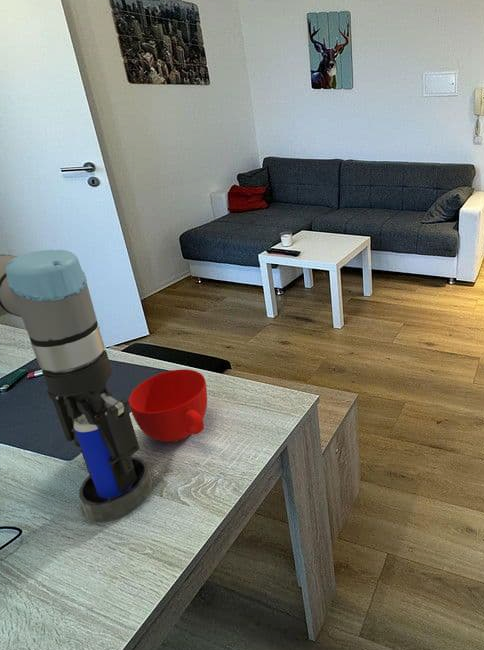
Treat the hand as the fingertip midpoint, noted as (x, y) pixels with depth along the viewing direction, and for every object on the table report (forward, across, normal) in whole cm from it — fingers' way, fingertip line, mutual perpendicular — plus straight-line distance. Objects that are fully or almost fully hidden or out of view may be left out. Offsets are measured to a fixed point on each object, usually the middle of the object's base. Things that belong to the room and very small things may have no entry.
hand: (114, 479), depth 70 cm
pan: (+4, 0, 0) cm, 4 cm away
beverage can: (+2, 0, 0) cm, 2 cm away
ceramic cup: (+4, +1, -14) cm, 15 cm away
